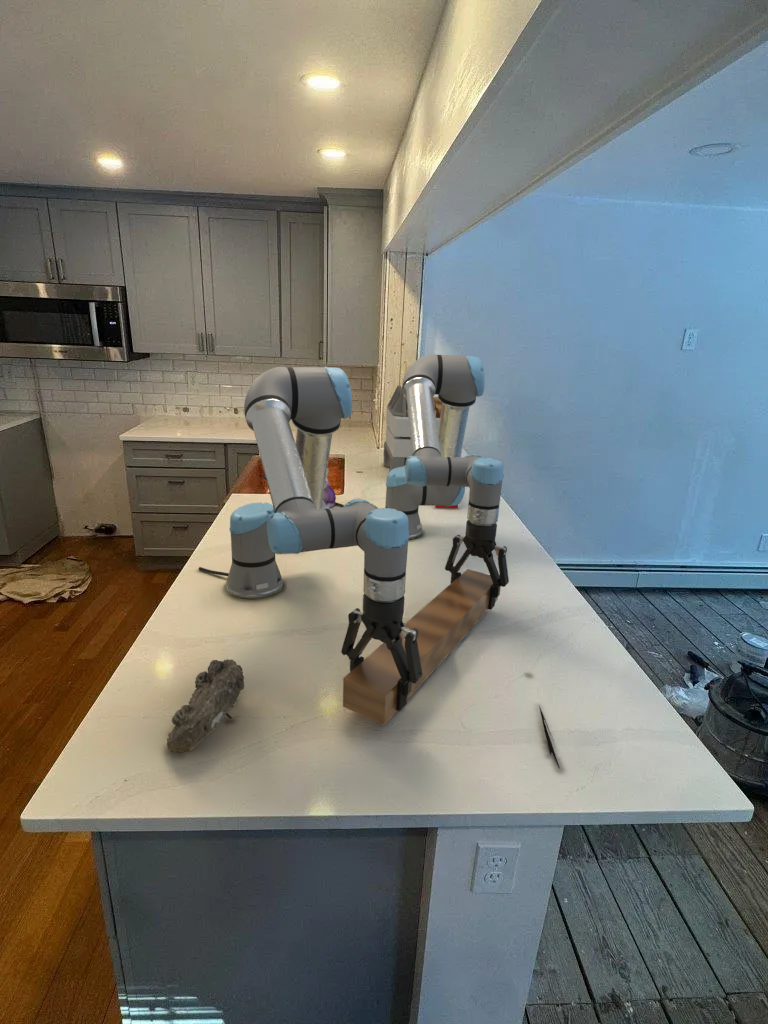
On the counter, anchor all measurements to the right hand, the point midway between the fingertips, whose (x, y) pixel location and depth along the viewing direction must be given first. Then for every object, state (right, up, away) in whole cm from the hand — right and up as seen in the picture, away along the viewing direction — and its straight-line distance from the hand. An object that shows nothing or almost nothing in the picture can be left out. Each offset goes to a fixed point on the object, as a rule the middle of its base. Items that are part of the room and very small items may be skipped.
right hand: (473, 601), depth 148 cm
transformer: (-6, +42, +127) cm, 134 cm away
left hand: (-24, -12, -38) cm, 47 cm away
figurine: (-47, +26, +77) cm, 93 cm away
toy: (+1, +29, +93) cm, 97 cm away
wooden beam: (-12, -7, -19) cm, 23 cm away
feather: (+8, -17, -36) cm, 41 cm away
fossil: (-56, -16, -40) cm, 70 cm away
